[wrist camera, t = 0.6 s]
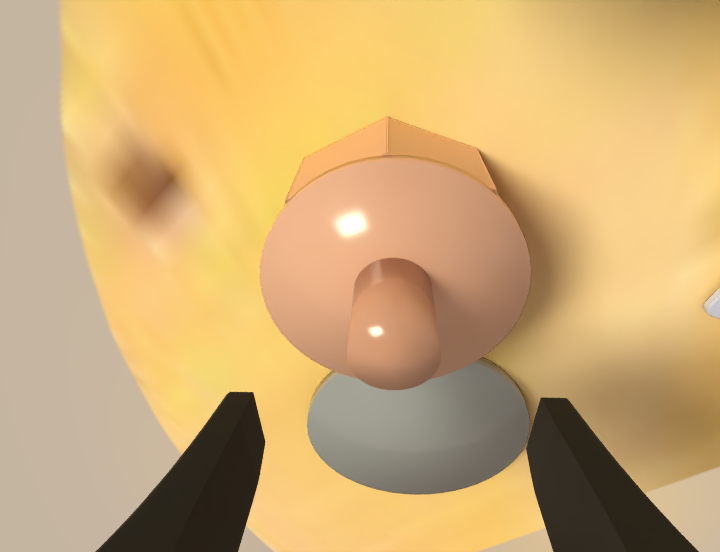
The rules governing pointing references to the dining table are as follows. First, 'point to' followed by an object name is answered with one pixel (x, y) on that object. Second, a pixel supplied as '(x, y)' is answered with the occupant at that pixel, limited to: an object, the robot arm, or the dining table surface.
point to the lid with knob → (394, 258)
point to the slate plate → (420, 429)
